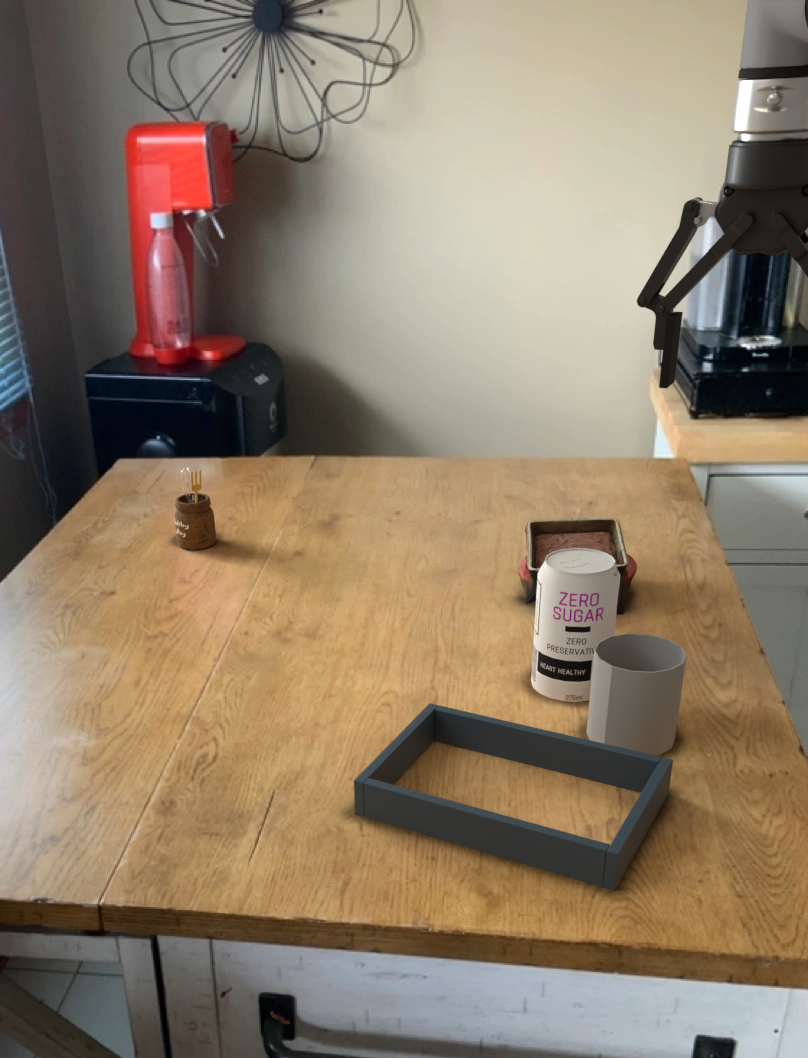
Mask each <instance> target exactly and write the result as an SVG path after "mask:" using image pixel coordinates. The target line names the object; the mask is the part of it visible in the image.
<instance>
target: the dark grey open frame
mask: <svg viewBox="0 0 808 1058" xmlns="http://www.w3.org/2000/svg"><path fill="white" fill-rule="evenodd" d="M434 742H436V743H440V744H444V745H448V746H452V747H455V748H460V749H463V750H468V751H471V752H476V753H480V754H483V755H488V756H493V757H496V758H500V759H505V760H507V761H511V762H512V761H513V762H516V763H519V764H520V763H521V764H524V765H527V766H531V767H537V768H539V769H545V770H548V771H552V772H555V773H560V774H564V775H568V776H571V777H572V776H573V777H576V778H580V779H584V780H589V781H592V782H596V783H600V784H603V785H604V784H605V785H608V786H612V787H617V788H621V789H625V790H628V791H631V792H636V793H640V794H639V796H638V797H637V799H636V801H635V802H634V804H633V806H632V807H631V809H630V811H629V812H628V814H627V816H626V818H625V819H624V821H623V823H622V824H621V826H620V828H619V829H618V831H617V833H616V835H615V836H614V838H613V840H612V841H611V843H610V844H609V843H606V842H603V841H599V840H596V839H592V838H588V837H585V836H581V835H577V834H574V833H569V832H568V831H567V832H566V831H563V830H559V829H556V828H553V827H548V826H545V825H541V824H537V823H534V822H530V821H527V820H523V819H521V818H520V819H519V818H517V817H516V818H515V817H513V816H509V815H505V814H502V813H498V812H494V811H490V810H487V809H483V808H480V807H476V806H472V805H468V804H465V803H461V802H457V801H454V800H450V799H447V798H443V797H439V796H436V795H432V794H428V793H425V792H422V791H417V790H414V789H410V788H408V787H404V786H401V785H396V783H397V782H398V781H399V780H400V779H401V778H402V776H403V775H404V774H405V773H406V772H407V771H408V770H410V768H411V767H412V766H413V765H414V764H415V763H416V761H418V759H419V758H420V757H421V756H422V755H423V754H424V752H426V751H427V749H428V748H430V746H431V745H432V744H433V743H434ZM673 763H674V759H673V758H672V759H671V758H667V757H662V756H660V755H658V756H655V755H651V754H647V753H642V752H638V751H634V750H629V749H625V748H621V747H616V746H612V745H608V744H603V743H599V742H595V741H591V740H589V739H585V738H582V737H577V736H573V735H568V734H564V733H560V732H556V731H551V730H547V729H543V728H538V727H534V726H530V725H525V724H521V723H517V722H513V721H508V720H505V719H499V718H495V717H491V716H487V715H482V714H479V713H474V712H469V711H466V710H461V709H457V708H453V707H448V706H444V705H439V704H436V703H431V702H430V703H428V704H427V705H426V706H425V707H424V708H423V709H422V710H421V711H420V712H419V713H418V714H417V715H416V717H414V718H413V719H412V720H411V721H410V722H409V724H408V725H407V726H405V727H404V729H403V730H402V731H401V732H400V733H399V734H398V735H397V736H396V737H395V738H394V739H393V740H392V741H391V742H390V743H389V744H388V745H387V746H385V748H384V749H383V750H382V751H381V752H380V753H379V754H377V756H376V757H375V758H374V759H373V761H371V762H370V763H369V764H368V765H367V766H366V767H365V769H363V770H362V771H361V772H360V774H358V776H357V777H356V778H355V779H354V780H353V793H354V794H353V795H354V796H353V797H354V798H353V799H354V814H355V815H356V816H360V817H364V818H368V819H371V820H374V821H377V822H381V823H383V824H387V825H391V826H394V827H397V828H400V829H405V830H408V831H411V832H415V833H417V834H422V835H425V836H427V837H431V838H435V839H438V840H442V841H445V842H449V843H452V844H455V845H458V846H461V847H465V848H469V849H472V850H475V851H479V852H481V853H485V854H489V855H492V856H496V857H499V858H502V859H506V860H510V861H513V862H517V863H520V864H523V865H526V866H529V867H533V868H537V869H540V870H543V871H547V872H549V873H553V874H556V875H560V876H564V877H567V878H571V879H574V880H577V881H580V882H583V883H586V884H587V883H588V884H590V885H594V886H598V887H601V888H604V889H608V890H611V891H616V889H617V887H618V885H619V884H620V882H621V880H622V878H623V877H624V875H625V873H626V871H627V869H628V867H629V866H630V864H631V862H632V860H633V858H634V857H635V855H636V854H637V852H638V850H639V847H640V846H641V844H642V843H643V840H644V838H645V837H646V835H647V833H648V832H649V830H650V828H651V826H652V824H653V823H654V821H655V819H656V817H657V815H658V813H659V812H660V810H661V808H662V806H663V804H664V803H665V801H666V799H667V797H668V796H669V792H670V786H671V780H672V779H671V778H672V770H673Z"/></svg>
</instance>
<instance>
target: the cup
mask: <svg viewBox="0 0 808 1058" xmlns="http://www.w3.org/2000/svg"><path fill="white" fill-rule="evenodd" d="M686 661H687V653H686V651H685V650H684V649H683V647H682V646H681V645H680V644H677V643H676V642H674V641H673V640H670V639H668V638H666V637H661V636H657V635H654V634H650V633H649V634H648V633H630V632H629V633H622V634H615V635H614V636H610V637H608V638H606V639H604V640H602V641H600V642H598V644H597V646H596V648H595V649H594V657H593V668H592V679H591V689H590V700H589V701H588V711H587V722H586V736H587V737H588V740H591V741H595V742H599V743H603V744H608V745H612V746H616V747H621V748H625V749H629V750H634V751H638V752H642V753H647V754H651V755H655V756H661V755H663V754H664V753H666V752H668V751H669V750H671V749H673V746H674V743H675V740H676V735H677V727H678V720H679V714H680V713H679V712H680V705H681V699H682V692H683V685H684V678H685V677H684V675H685V669H686Z"/></svg>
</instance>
